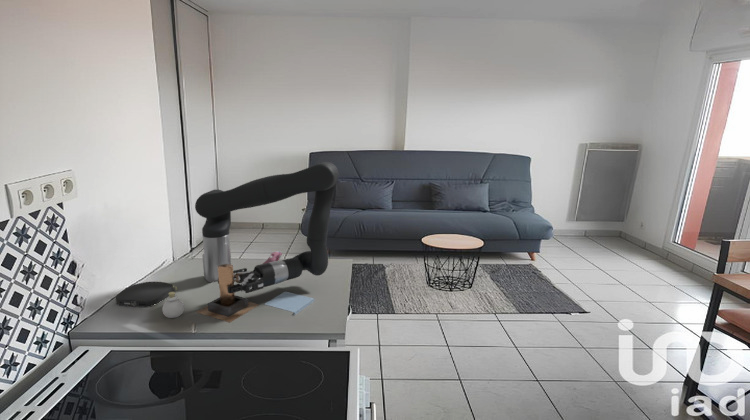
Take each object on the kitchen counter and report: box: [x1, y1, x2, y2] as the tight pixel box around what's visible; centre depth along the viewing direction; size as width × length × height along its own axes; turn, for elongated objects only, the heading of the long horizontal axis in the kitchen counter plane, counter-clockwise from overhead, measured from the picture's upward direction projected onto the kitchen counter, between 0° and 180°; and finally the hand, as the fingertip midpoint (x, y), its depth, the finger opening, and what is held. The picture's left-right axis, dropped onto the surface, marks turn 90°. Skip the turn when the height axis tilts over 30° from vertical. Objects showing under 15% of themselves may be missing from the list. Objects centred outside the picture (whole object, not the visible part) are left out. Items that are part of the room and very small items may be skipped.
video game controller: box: [262, 250, 283, 264], centre depth 175 cm, size 10×5×7 cm, turn 169°
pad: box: [264, 291, 315, 316], centre depth 142 cm, size 12×11×1 cm
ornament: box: [162, 285, 185, 319], centre depth 132 cm, size 6×8×10 cm
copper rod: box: [218, 264, 236, 307], centre depth 135 cm, size 4×4×14 cm
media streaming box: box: [115, 281, 175, 307], centre depth 146 cm, size 15×15×3 cm
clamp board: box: [196, 294, 260, 323], centre depth 137 cm, size 14×13×4 cm
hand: (222, 285), depth 134 cm, fingers open, 8 cm apart
